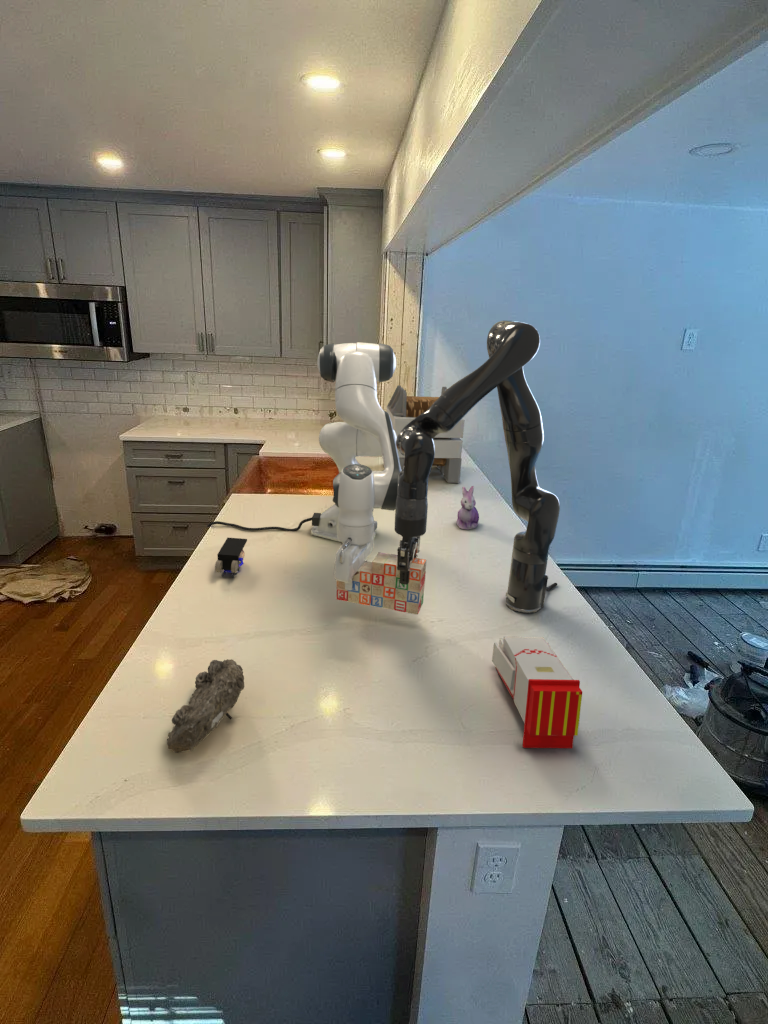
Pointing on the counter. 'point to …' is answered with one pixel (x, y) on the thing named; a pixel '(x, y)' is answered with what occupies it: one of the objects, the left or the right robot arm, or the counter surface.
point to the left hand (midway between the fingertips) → (354, 582)
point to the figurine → (468, 510)
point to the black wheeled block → (230, 556)
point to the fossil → (206, 705)
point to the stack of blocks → (386, 585)
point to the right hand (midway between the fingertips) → (407, 577)
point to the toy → (539, 691)
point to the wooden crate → (446, 444)
